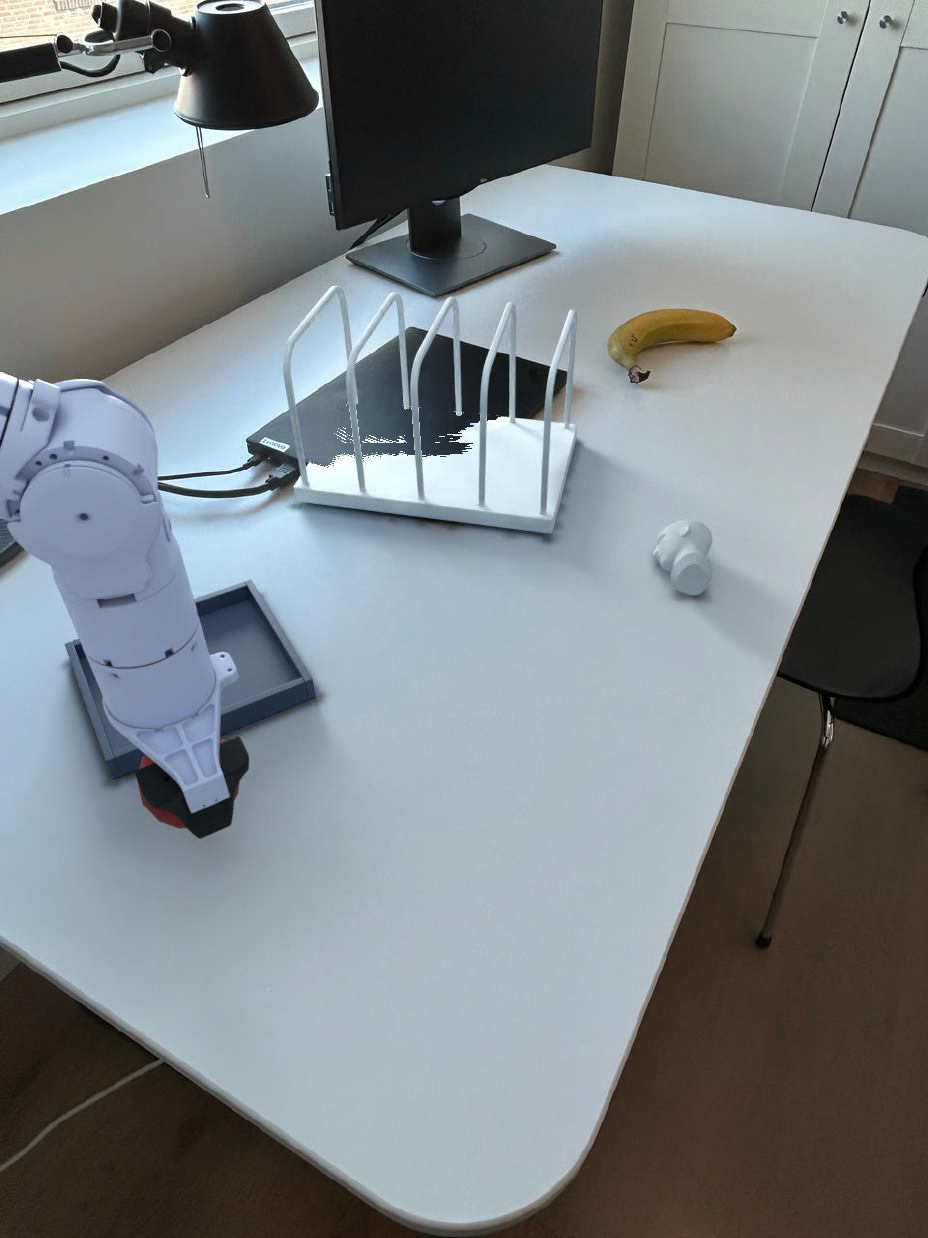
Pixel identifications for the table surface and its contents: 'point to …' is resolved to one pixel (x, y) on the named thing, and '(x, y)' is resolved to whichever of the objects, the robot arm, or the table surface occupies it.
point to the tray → (228, 626)
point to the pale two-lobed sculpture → (685, 555)
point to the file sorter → (459, 483)
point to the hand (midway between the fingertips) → (196, 789)
